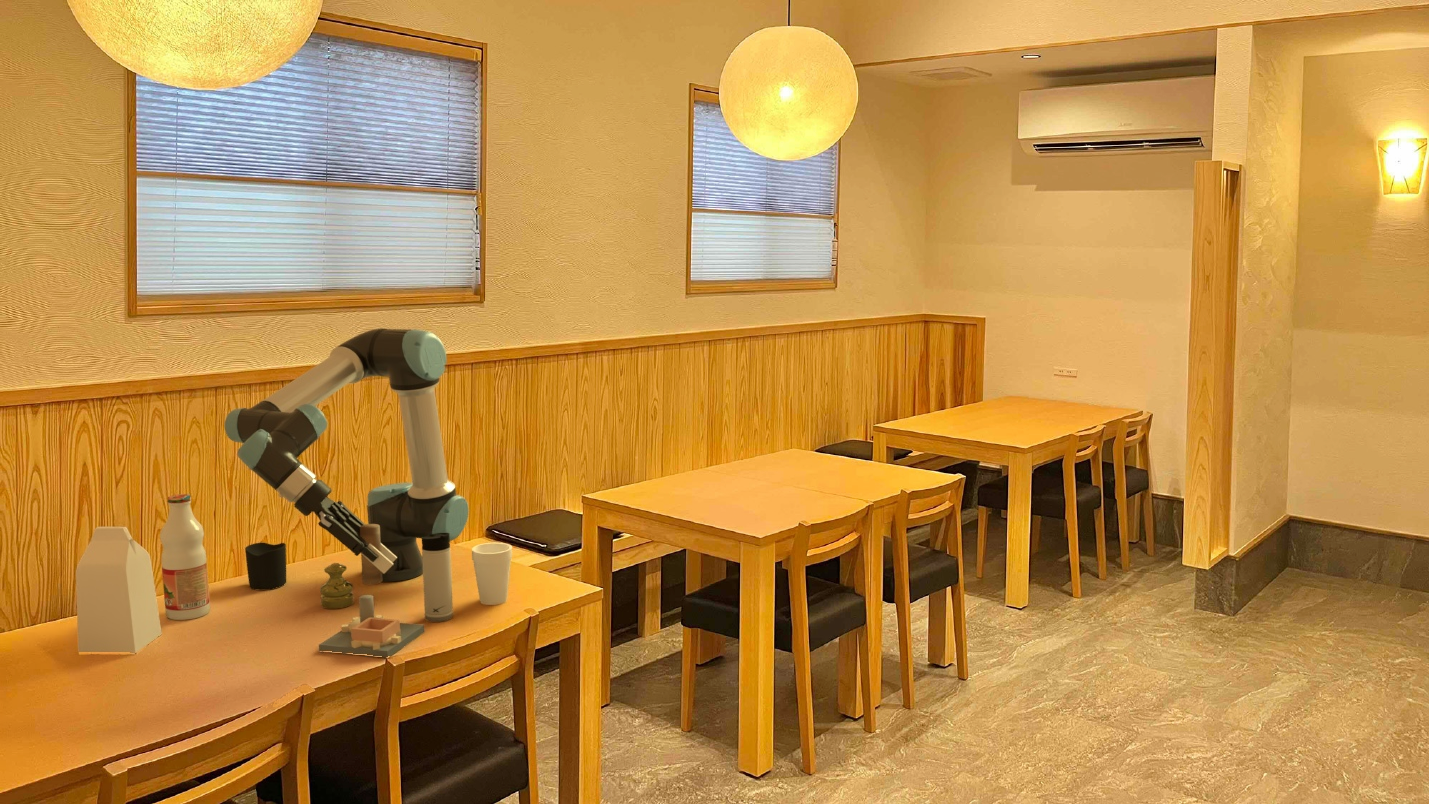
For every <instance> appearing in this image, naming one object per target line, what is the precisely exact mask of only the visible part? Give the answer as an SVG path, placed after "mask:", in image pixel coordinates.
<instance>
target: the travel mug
mask: <svg viewBox="0 0 1429 804" xmlns="http://www.w3.org/2000/svg"><path fill="white" fill-rule="evenodd" d="M450 542H451V541H450V534H449V533H435V534H430V536H426V537H425V536H424V537H422V539H421V551H422V552H421V555H422V562H423V574H422V578H423V580H422V585H423V602H424V603H423V604H424V619H425V620H426V621H428V622H430V623H441V622H442V623H443V622H447V621H449V620H452V618H453V617H454V611H453V610H454V609H453V607H454V606H453V586H452V585H453V581H452V580H453V578H452V557H451V554H452V552H451V543H450Z"/></svg>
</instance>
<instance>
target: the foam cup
mask: <svg viewBox="0 0 1429 804" xmlns="http://www.w3.org/2000/svg"><path fill="white" fill-rule="evenodd" d="M512 558H513V546H512V545H511V544H510V543H505V542H486V543H481V544H477V545H475V546H473V547H471V560H472V562H473V568H474V574H475V579H476V585H477V591H478V596H479V601H480V603H481V604H483V605H487V606H489V605H490V606H496V605H501V604H505V603H506V602H507V601H508V592H509V582H510V573H511V562H512Z"/></svg>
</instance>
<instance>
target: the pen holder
mask: <svg viewBox="0 0 1429 804" xmlns="http://www.w3.org/2000/svg"><path fill="white" fill-rule="evenodd" d="M286 548H287V545H286V543H285V542H280V543H277V544H271V543H269V542H267V543H266V542H256V543H251V544H249V545H246V546H245V547H244V550H245V559H246V560H245V561H246V570H247V576H248V578H247V579H248V585H249V587H250V588H251V590H255V589H270V590H274V589H273V588H276V587H279V586H282V585H283V586H285V585H286V583H287V549H286ZM284 584H285V585H284ZM283 586H282V587H283ZM279 588H280V587H279ZM276 589H277V588H276Z"/></svg>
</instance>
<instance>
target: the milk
mask: <svg viewBox="0 0 1429 804" xmlns="http://www.w3.org/2000/svg"><path fill="white" fill-rule="evenodd" d="M75 569H76V570H75V585H76V588H75V591H76V617H77V618H76V619H77V620H76V621H77V623H76V624H77V646H78V647H77V649H78V650H77V653H78V652H130V653H136V652H137V651H139V650H140V649H142V648H143V647H144V646H146V645H147V644H149V643H150V642H151V641H153V640H154V639H156V638H157V637H158V636H160V635H161V634H162V627H161V621H160V613H159V612H160V611H159V606H158V600H157V594H156V592H157V591H156V586H155V585H156V584H155V579H154V578H155V577H154V573H153V565H152V558H151V555H150V553H149V552H148V551H147V549H145V548H144V547H143V546H142V545H140V543H138V542H137V541H136V540H134V538H133V537H132V535H131V533H130V531H129V529H128V528H127V526H97V527H95V528H94V531H93V533H92V536H91V538H90V541H89V543H88V545H87V546H86V548H85V550H84V552H83V554H82V556H81V558H80V559H79V562H78V563H77V566H76V568H75ZM162 635H163V634H162ZM162 635H161V636H162ZM161 636H160V637H161ZM157 639H158V638H157ZM157 639H156V640H157ZM153 642H154V641H153ZM149 645H150V644H149Z"/></svg>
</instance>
